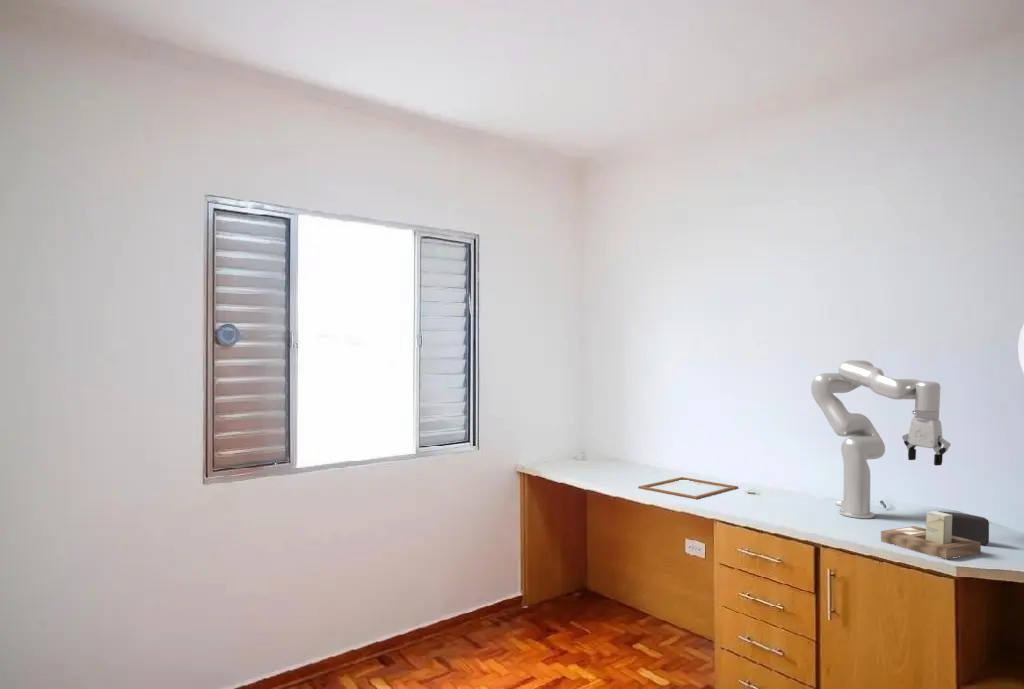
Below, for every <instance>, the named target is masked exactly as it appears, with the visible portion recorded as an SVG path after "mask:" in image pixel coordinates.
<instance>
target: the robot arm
mask: <svg viewBox="0 0 1024 689" xmlns="http://www.w3.org/2000/svg"><path fill="white" fill-rule="evenodd" d="M861 386H863V387H865V388H869V390H871V391H872V392H873V393H875V394H877V395H880V396H881V397H882V396H883V397H885V398H888V399H891V400H897V401H899V400H901V401H902V400H915V401H914V410H912V411H911V415H914V417H912V418H911V421H910V424H909V429H908V430H909V431H908V433H906V434H903V435H902V436H901V437H902V438H901V439H902V440H903V443H904V445H905V447H906V449H907V450H908V452H907V460H908V461H915V460H917V459H916V458H917V449H916V447H921V448H926V449H927V448H928V449H933V451H934V452H935V454H933V455H934V456H933V458H934V459H933V465H934V466H942V463H943V455H945V453H946V452H947V451H948V450H949V448H950V447H951V442H949V441H947V439H945V438H943V428H942V427H943V426H942V422H941V420H940V406H941V405H940V402H941V401H940V400H941V384H940V383H939V382H936V381H926V380H925V381H924V380H919V379H914V378H913V379H912V378H910V379H908V378H903V379H902V378H901V379H900V378H893V377H889V376H885V374H884V372H883V370H882V369H881V368H879V367H876V366H874V365H873V364H872V362H870V361H867V360H862V359H861V360H857V359H856V360H855V359H854V360H846V361H843V362H842V363H840V365H839V367H838V372H825V373H820V374H818V375H816V376H814V378H813V379H812V382H811V387H810V388H811V389H810V390H811V394H812V397H813V399H814V401H815V402H816V404H817V405H818V407H819V408H820V410H821V411H822V412H823V415H824V416H825V418H826V420H827V421H828V423H829V425H830V427H831V428H832V429H833V431H834V433H835V434H836V435H837V436H839V437H843V438H844V437H845V439H844V440H843V441H842V443H841V448H840V449H841V456H842V461H843V500H837V501H836V503H835V505H836V507H837V506H838V507H840V509H839V513H838V514H840V515H842V516H845V517H848V518H855V519H867V520H868V519H873V518H875V513H874V512H873V511H871V468H870V466H869V464H868V461H867V460H877V459H880V458H882V457H883V456H884V455H885V453H886V445H885V443H884V441H883V439H882V437H881V436H880V433H878V431H877V429H876V428H875V426H874V423H872V421H871V420H870V419H869V418H868V417H867V416H866V415H864V414H861V413H851V412H849V411H848V409H847V408H846V407H845V405H844V403H843V402H842V400H840V399H839V398H838V397H837V396H836V395H835V394H846V393H850V392H852V391H854V390H856V389H858V388H860V387H861ZM846 437H847V438H846ZM942 445H943V447H942Z"/></svg>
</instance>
